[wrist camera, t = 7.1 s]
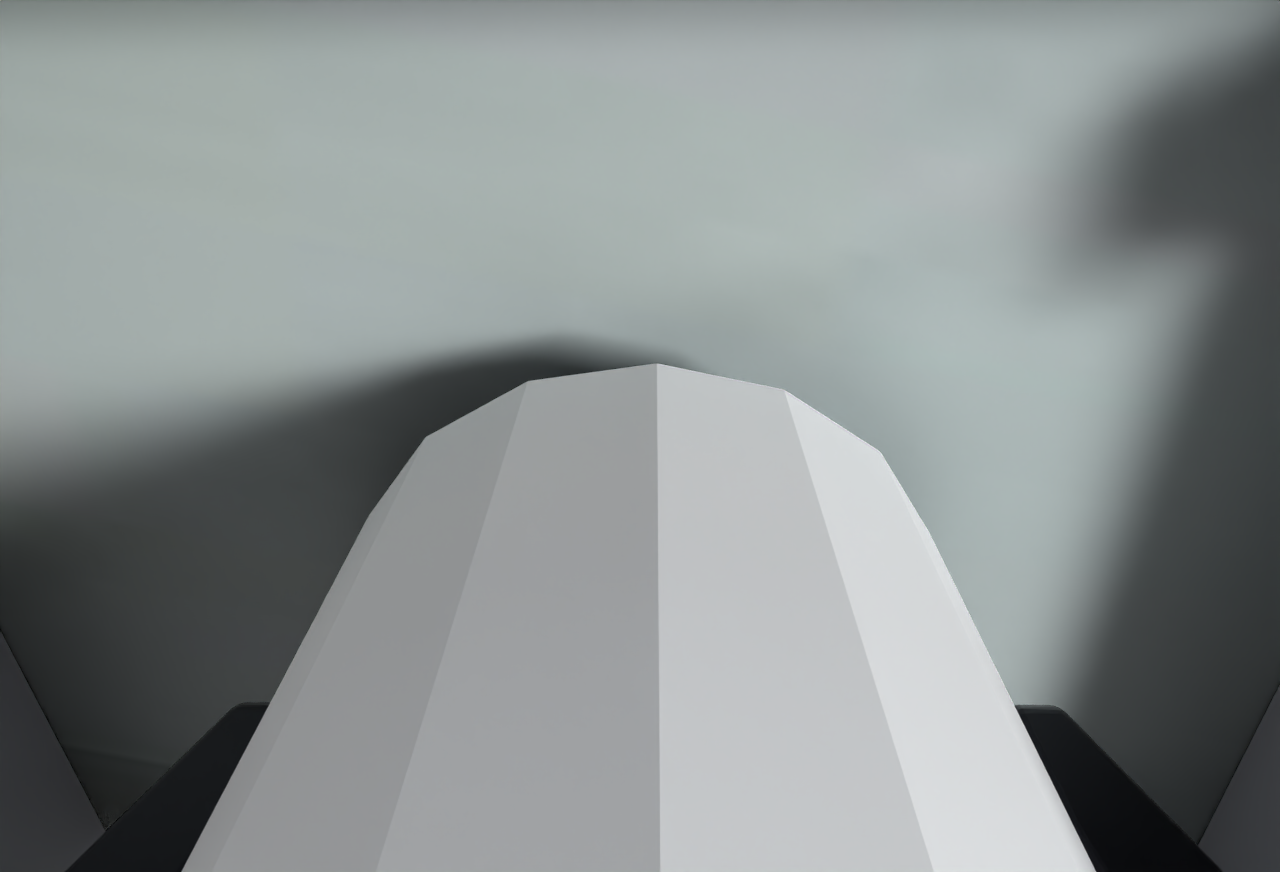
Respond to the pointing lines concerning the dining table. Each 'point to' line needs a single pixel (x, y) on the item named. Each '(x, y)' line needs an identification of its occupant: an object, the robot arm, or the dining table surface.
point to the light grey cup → (642, 661)
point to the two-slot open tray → (68, 825)
